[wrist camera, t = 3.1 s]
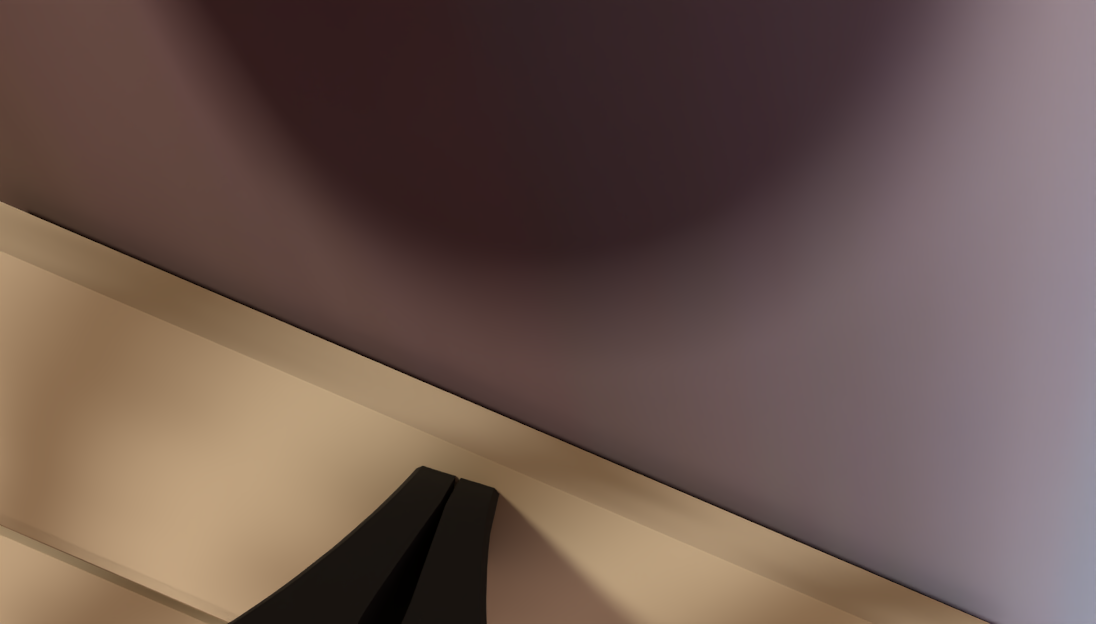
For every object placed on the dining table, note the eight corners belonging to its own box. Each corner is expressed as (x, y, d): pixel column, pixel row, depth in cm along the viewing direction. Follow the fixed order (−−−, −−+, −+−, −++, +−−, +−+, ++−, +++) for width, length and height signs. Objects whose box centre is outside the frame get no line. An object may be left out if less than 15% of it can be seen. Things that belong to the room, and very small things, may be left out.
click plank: (1019, 635, 12) (1043, 696, 11) (785, 809, 17) (789, 863, 16) (-17, 194, 12) (-78, 217, 11) (22, 483, 17) (-19, 517, 16)
